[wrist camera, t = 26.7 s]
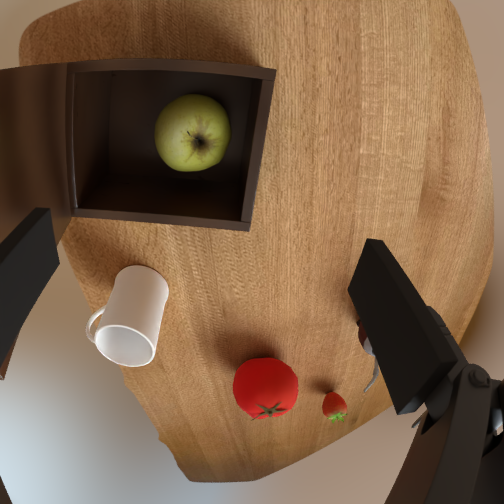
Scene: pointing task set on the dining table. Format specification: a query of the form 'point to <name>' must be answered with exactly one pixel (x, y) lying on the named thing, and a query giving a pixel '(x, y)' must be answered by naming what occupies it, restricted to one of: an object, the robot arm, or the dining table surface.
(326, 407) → the fruit
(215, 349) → the dining table surface
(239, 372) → the tomato
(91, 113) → the chest
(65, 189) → the lid
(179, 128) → the apple
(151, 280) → the mug
